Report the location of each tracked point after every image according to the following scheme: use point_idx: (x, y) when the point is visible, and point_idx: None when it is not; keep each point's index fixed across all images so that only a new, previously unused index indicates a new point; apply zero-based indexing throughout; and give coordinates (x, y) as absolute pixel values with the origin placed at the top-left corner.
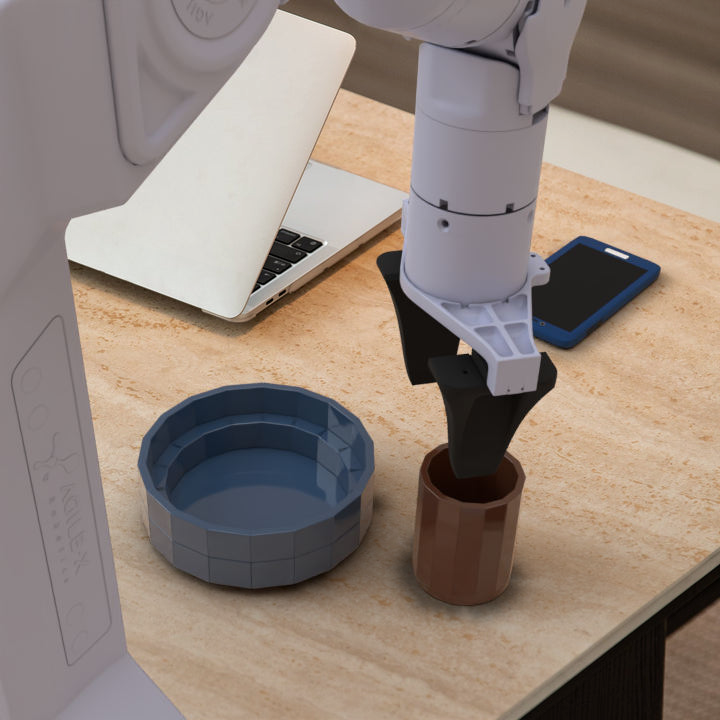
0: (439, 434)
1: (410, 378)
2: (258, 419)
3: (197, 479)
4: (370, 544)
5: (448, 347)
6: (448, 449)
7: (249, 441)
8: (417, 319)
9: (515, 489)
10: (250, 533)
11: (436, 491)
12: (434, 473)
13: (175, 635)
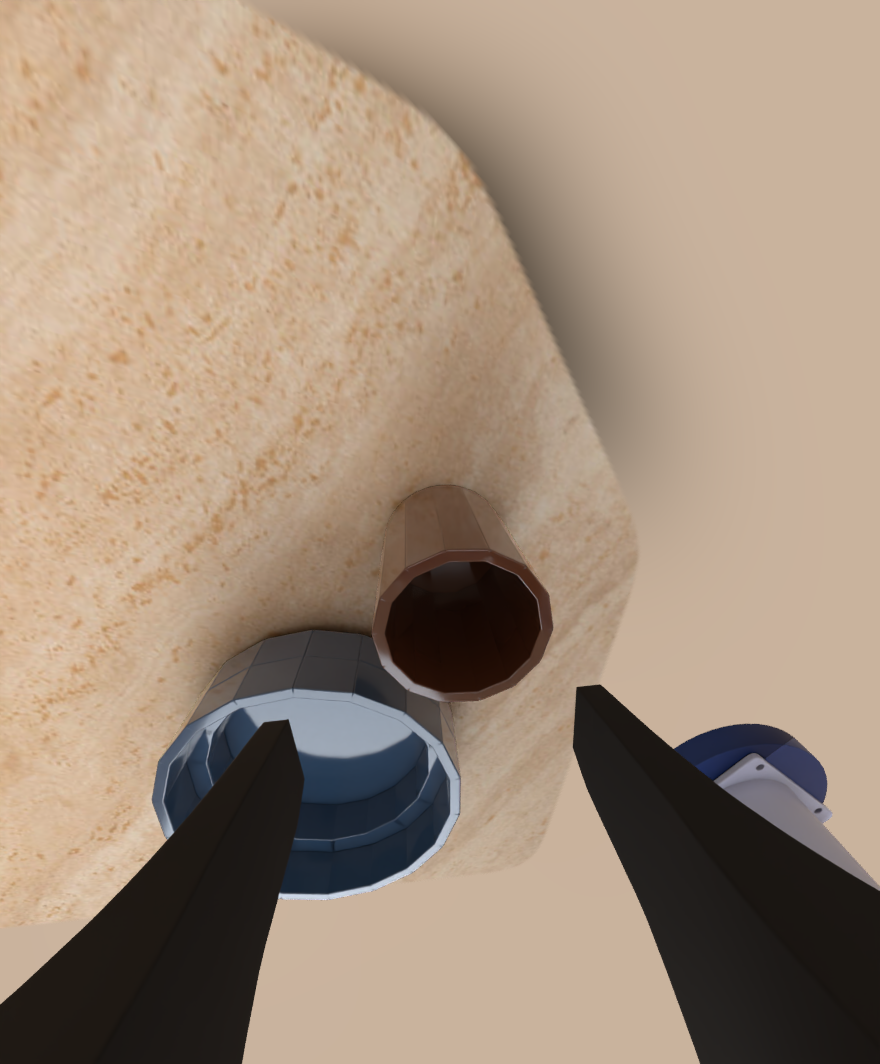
0: (168, 516)
1: (300, 800)
2: (202, 766)
3: None
4: None
5: (254, 809)
6: (596, 807)
7: (223, 749)
8: (235, 1002)
9: (519, 574)
10: (456, 813)
11: (496, 687)
12: (408, 649)
13: (483, 784)
